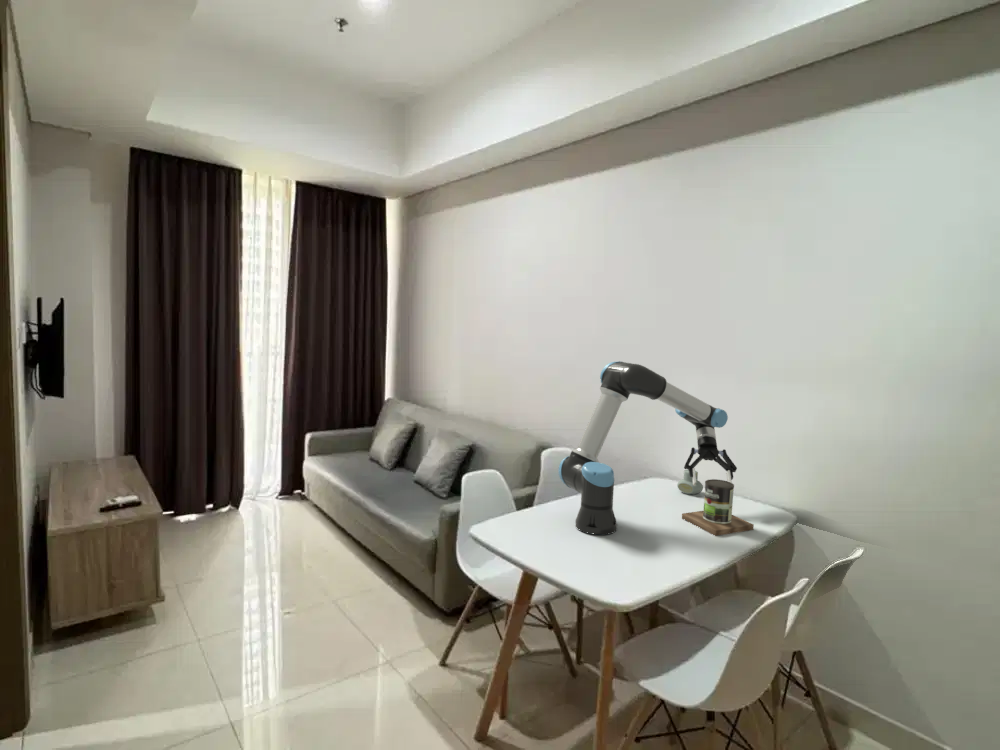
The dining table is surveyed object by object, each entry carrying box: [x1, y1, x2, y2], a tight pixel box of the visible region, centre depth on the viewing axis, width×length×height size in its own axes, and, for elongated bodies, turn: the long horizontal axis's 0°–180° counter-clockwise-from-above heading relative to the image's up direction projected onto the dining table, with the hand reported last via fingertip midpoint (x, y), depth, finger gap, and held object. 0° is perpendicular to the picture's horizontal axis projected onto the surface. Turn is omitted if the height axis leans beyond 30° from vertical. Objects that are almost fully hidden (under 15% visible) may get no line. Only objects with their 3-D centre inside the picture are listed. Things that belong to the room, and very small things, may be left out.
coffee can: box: [703, 478, 735, 524], centre depth 208 cm, size 10×10×14 cm
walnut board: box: [681, 510, 754, 537], centre depth 209 cm, size 18×18×2 cm
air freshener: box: [677, 469, 704, 495], centre depth 245 cm, size 11×8×10 cm
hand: (712, 485), depth 218 cm, fingers open, 13 cm apart
